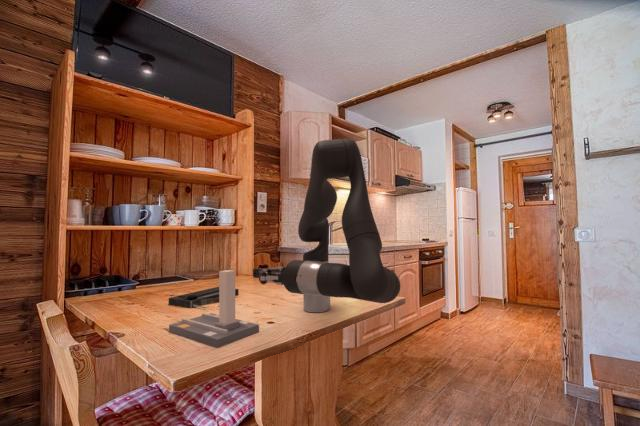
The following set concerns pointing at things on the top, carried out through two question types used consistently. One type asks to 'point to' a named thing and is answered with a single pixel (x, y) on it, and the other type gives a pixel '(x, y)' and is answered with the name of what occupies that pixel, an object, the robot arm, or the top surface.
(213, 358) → the top surface
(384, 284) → the robot arm
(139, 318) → the top surface
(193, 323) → the switch panel
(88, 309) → the top surface
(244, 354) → the top surface
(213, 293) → the black rectangular tray
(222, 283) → the switch tab
